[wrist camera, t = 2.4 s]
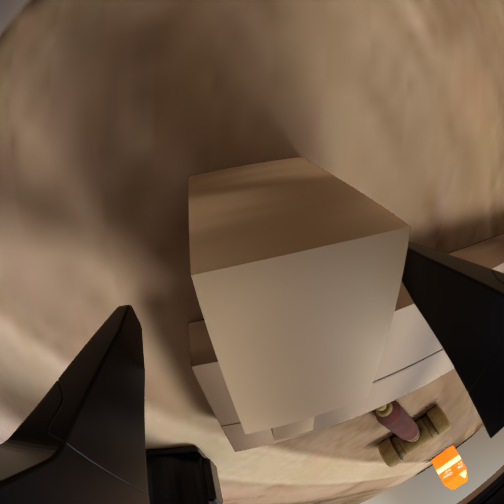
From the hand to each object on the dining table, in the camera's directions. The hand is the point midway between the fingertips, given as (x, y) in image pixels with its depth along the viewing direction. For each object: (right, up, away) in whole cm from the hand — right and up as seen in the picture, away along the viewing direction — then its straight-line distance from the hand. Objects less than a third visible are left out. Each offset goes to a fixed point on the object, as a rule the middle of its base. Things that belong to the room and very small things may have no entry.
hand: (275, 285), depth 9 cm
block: (0, -1, +4) cm, 4 cm away
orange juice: (+79, -83, +69) cm, 134 cm away
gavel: (+16, -18, +18) cm, 30 cm away
